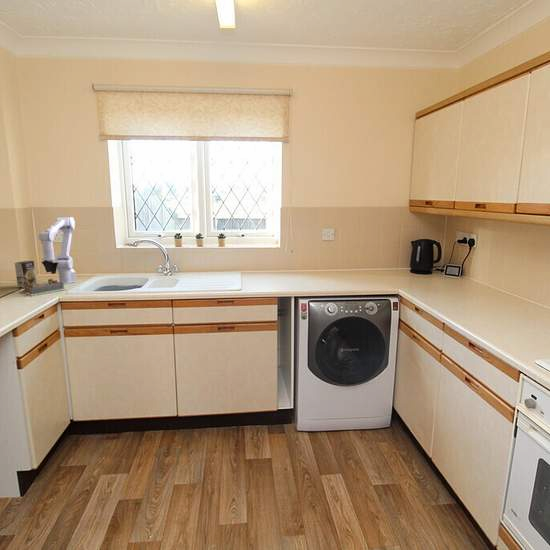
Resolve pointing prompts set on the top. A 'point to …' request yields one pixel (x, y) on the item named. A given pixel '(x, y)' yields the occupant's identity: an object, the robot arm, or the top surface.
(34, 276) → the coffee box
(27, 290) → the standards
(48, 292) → the mat
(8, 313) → the top surface
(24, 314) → the top surface
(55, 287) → the rail
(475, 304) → the top surface
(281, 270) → the top surface
